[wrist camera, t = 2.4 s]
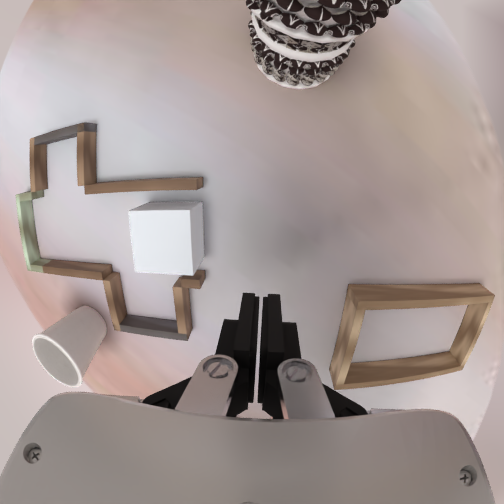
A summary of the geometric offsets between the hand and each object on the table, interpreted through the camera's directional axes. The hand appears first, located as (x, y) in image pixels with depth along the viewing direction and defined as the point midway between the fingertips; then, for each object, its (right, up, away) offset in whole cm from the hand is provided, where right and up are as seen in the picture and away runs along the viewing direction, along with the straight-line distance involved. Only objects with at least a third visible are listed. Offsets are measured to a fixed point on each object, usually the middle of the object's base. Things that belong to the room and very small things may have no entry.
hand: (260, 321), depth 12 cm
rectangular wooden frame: (+21, -7, +18) cm, 29 cm away
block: (-8, +6, +16) cm, 19 cm away
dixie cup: (-24, -7, +21) cm, 33 cm away
